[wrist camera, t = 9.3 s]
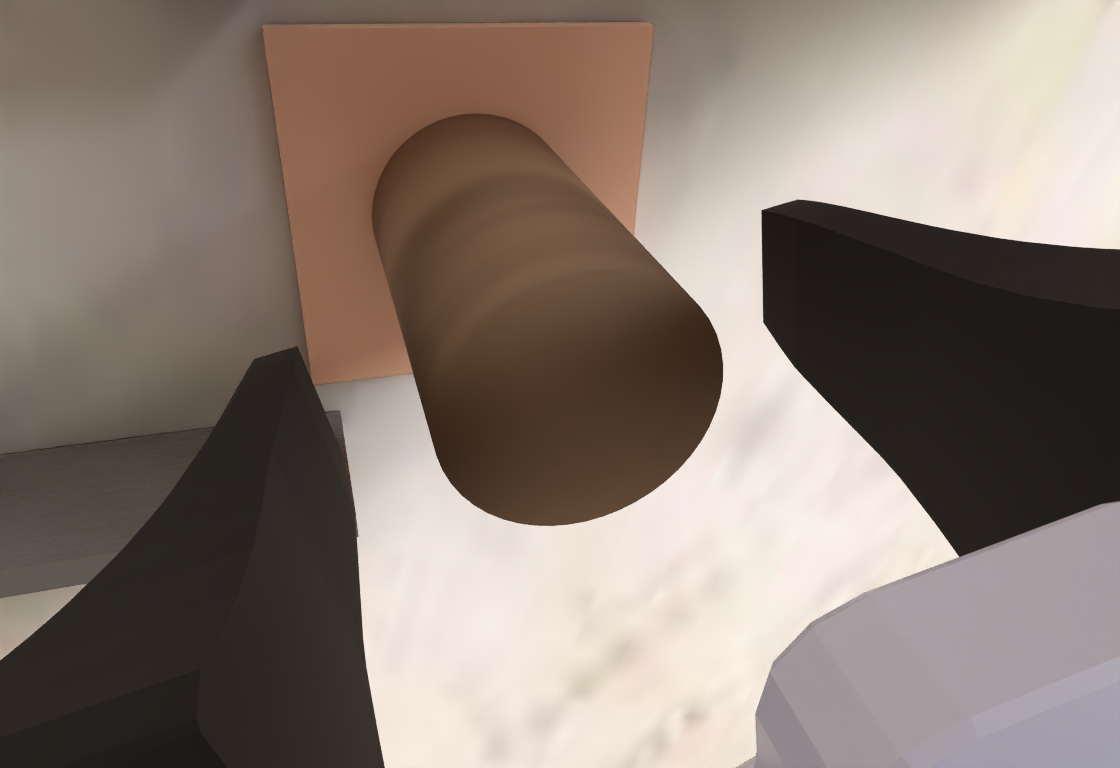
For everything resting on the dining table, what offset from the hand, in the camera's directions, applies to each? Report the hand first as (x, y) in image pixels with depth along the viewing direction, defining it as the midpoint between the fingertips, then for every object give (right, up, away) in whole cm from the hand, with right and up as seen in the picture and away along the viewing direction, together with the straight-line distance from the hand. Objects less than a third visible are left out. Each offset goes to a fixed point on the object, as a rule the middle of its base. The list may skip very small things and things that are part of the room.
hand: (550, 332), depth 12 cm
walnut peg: (-2, +3, +4) cm, 5 cm away
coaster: (-2, +3, +4) cm, 5 cm away
